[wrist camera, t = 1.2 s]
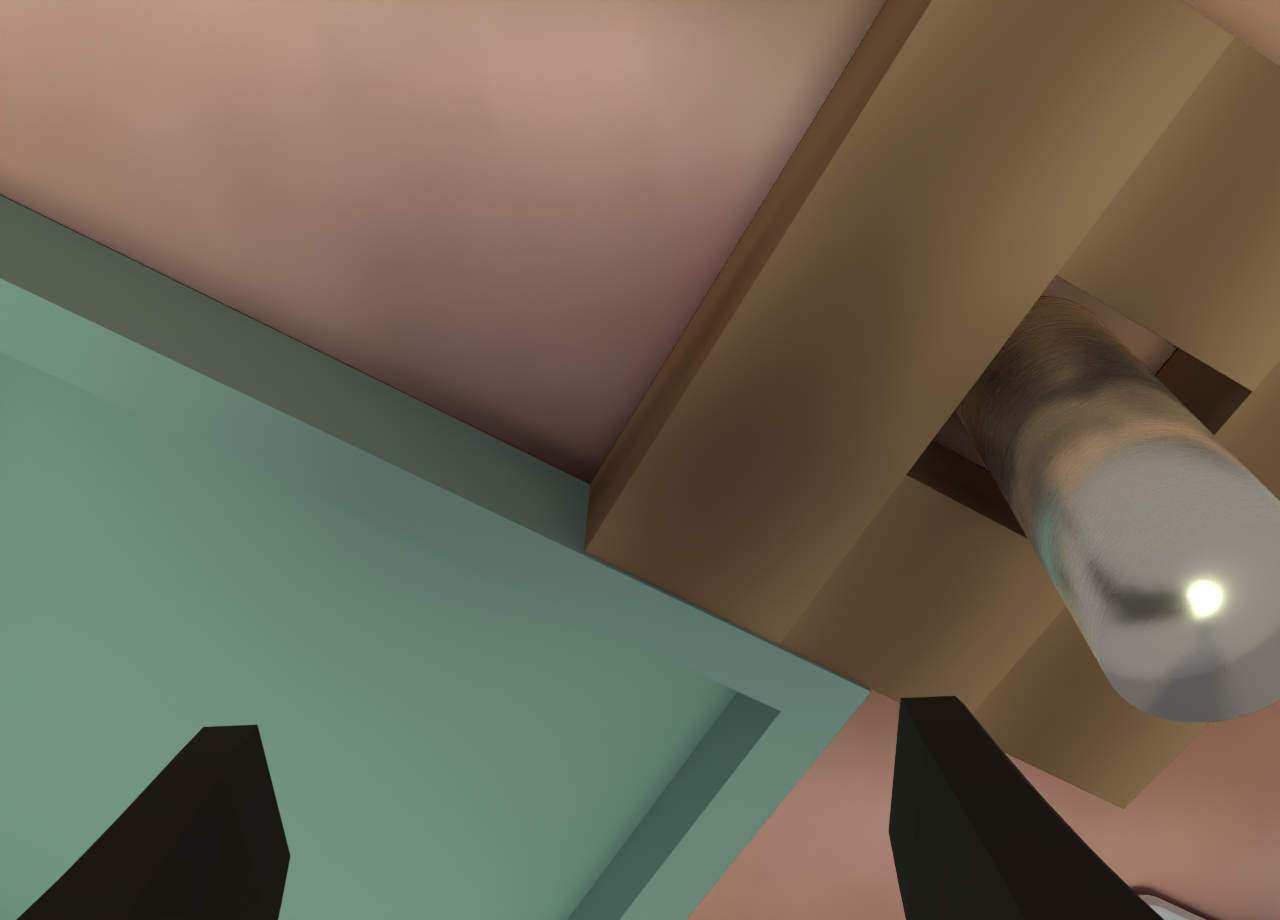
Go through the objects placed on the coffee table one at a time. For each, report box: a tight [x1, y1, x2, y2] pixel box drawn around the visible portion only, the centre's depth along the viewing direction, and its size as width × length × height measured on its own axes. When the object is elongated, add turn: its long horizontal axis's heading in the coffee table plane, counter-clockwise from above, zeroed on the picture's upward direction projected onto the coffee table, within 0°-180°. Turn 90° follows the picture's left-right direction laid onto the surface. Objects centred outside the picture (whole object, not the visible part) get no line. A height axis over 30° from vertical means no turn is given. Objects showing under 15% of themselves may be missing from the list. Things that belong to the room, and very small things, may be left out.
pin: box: [955, 297, 1280, 723], centre depth 18 cm, size 3×3×8 cm
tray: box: [0, 195, 871, 920], centre depth 24 cm, size 18×18×3 cm
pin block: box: [584, 0, 1280, 809], centre depth 20 cm, size 12×12×2 cm
